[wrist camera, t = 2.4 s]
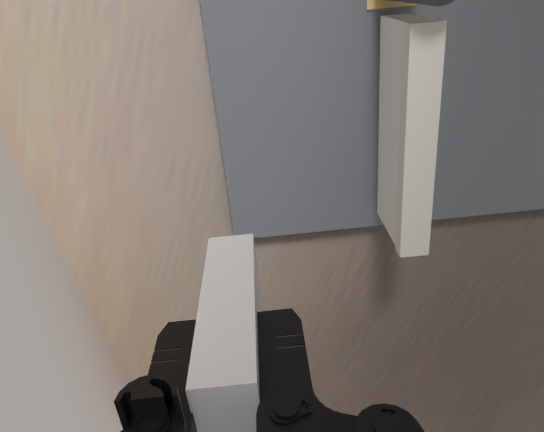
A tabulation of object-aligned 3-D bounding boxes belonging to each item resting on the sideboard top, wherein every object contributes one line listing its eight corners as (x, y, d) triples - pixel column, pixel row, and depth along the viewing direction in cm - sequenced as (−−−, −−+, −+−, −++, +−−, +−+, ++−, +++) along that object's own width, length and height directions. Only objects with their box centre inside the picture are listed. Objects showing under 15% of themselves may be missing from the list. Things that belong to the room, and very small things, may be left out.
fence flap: (378, 16, 22) (410, 24, 17) (407, 13, 22) (447, 20, 17) (375, 213, 26) (399, 257, 22) (399, 210, 26) (428, 254, 22)
